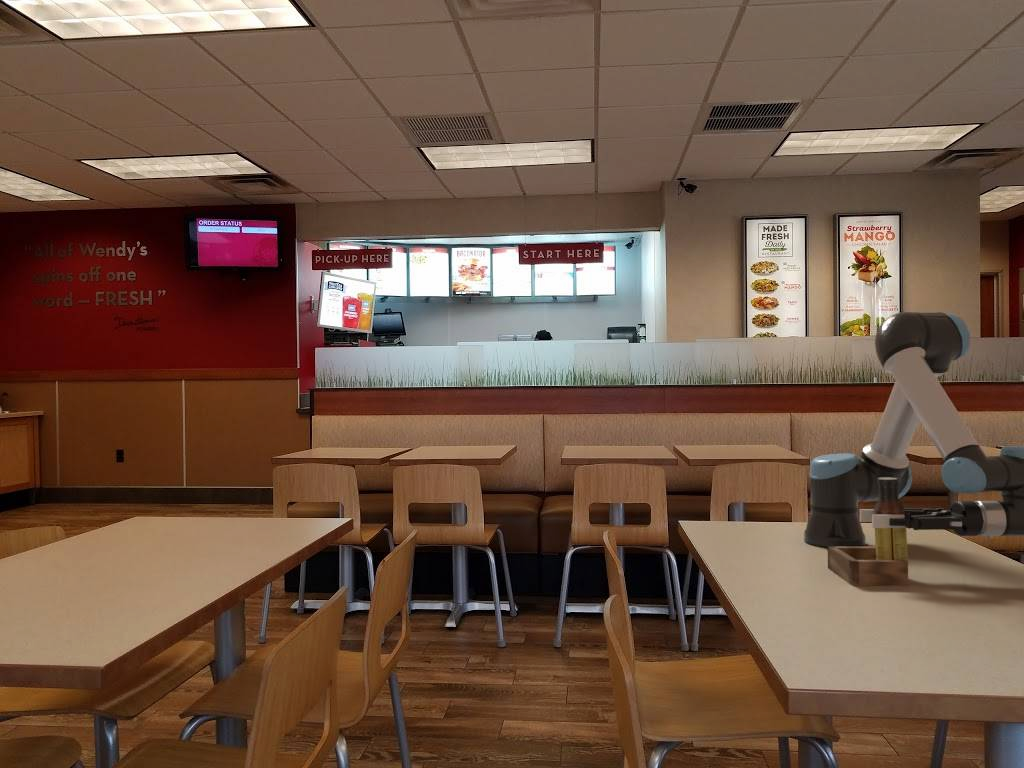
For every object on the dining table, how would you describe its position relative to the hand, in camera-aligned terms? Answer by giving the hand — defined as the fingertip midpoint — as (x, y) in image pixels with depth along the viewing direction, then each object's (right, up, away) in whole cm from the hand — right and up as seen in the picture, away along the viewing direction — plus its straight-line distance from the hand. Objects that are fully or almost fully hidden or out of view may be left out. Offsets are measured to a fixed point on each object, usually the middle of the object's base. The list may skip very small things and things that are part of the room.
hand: (866, 518), depth 167 cm
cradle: (+1, -13, +1) cm, 13 cm away
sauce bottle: (+5, -11, 0) cm, 12 cm away
